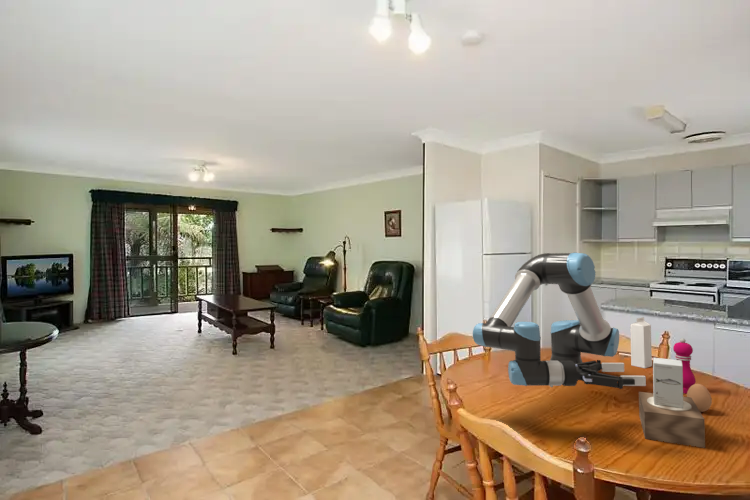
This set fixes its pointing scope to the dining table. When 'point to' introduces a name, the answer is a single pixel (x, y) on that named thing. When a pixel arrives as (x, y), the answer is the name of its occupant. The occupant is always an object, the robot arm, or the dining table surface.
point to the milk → (641, 344)
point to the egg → (700, 397)
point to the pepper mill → (685, 363)
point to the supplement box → (668, 382)
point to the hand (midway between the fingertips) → (634, 373)
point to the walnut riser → (672, 421)
